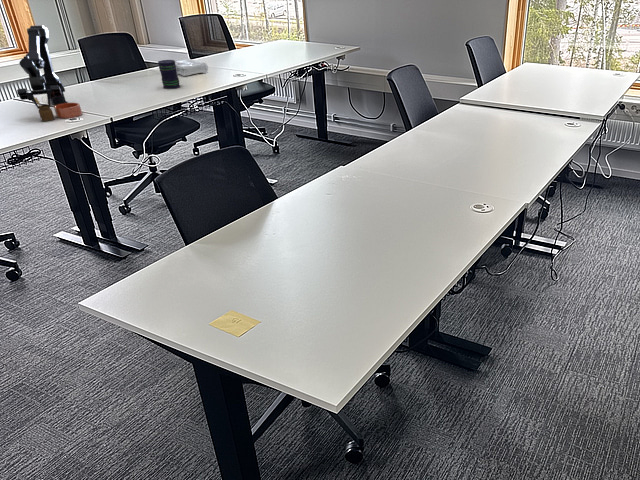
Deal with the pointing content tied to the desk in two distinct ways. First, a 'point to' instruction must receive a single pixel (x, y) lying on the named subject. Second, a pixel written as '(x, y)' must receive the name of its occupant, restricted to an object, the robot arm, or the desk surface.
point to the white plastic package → (190, 67)
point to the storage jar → (169, 74)
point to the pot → (68, 110)
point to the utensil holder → (45, 111)
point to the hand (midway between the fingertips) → (43, 107)
